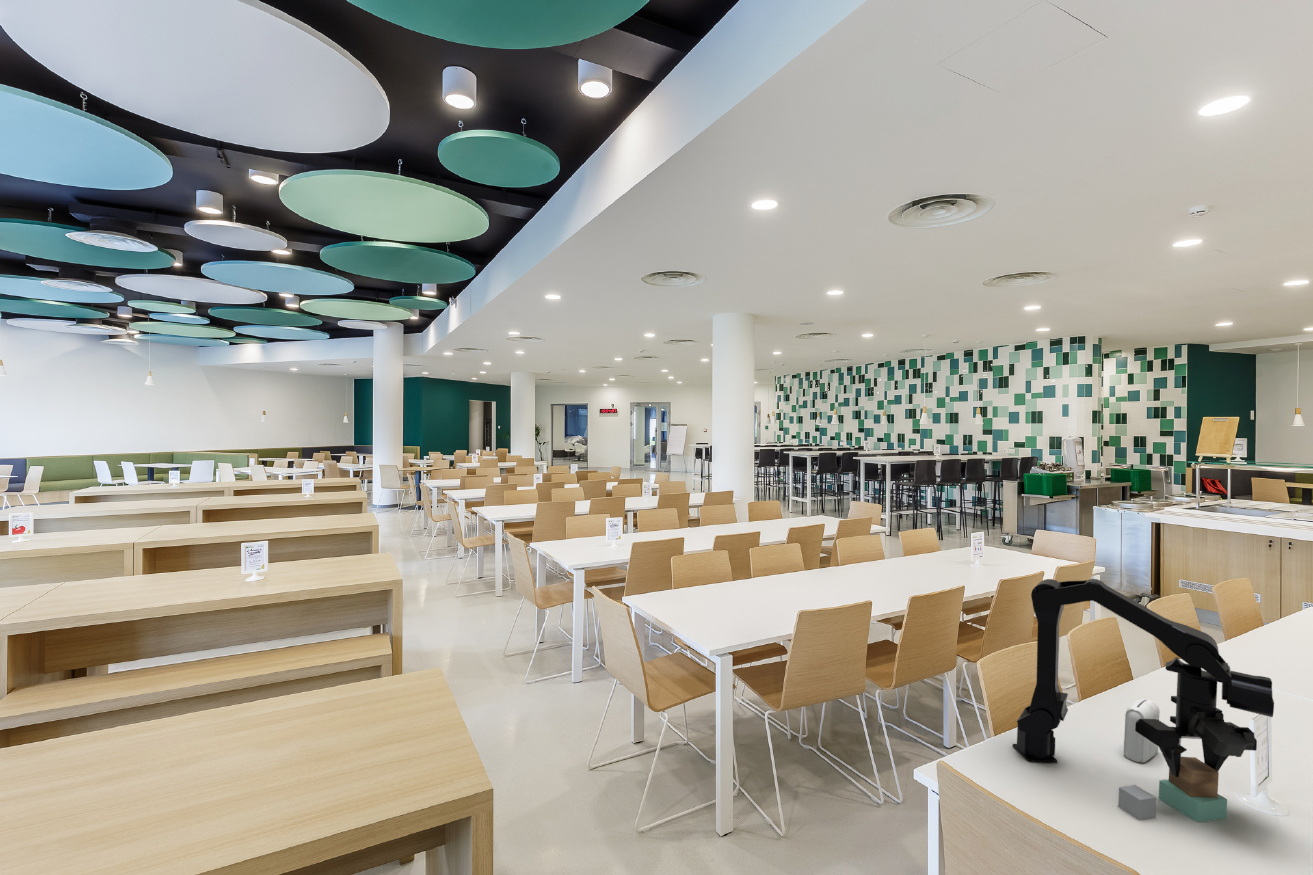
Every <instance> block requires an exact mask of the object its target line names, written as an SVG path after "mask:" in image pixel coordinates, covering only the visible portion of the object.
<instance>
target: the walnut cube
mask: <svg viewBox="0 0 1313 875" xmlns="http://www.w3.org/2000/svg"><path fill="white" fill-rule="evenodd" d="M1219 774H1220V773H1219V771H1218V772H1217V771H1216V770H1214V769H1213V768H1211V767H1210V766H1208V765H1206V764H1205V763H1204V761H1202V760H1200V759H1199V758H1197V757H1194V756H1193V757H1192V756H1181V761H1180V772H1179V777H1175V776H1174V775H1172V773H1171V771H1170V769H1169V768H1168V779H1169V781H1170V782H1171V783H1172V784H1174V785H1175V786H1176V787H1178V788H1179V789H1181V790H1182V791H1183V792H1185V793H1186V794H1188V795H1189V796H1190V797H1207V798H1217V796H1218V794H1219V790H1218V789H1219Z"/></svg>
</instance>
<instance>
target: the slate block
mask: <svg viewBox="0 0 1313 875" xmlns="http://www.w3.org/2000/svg"><path fill="white" fill-rule="evenodd" d="M1117 805H1118V806H1117V807H1118V808H1119V807H1120V809H1121V810H1122V809H1123V810H1122V811H1124V812H1125V813H1127V814H1129V815H1131V816H1132V817H1133V818H1135V819H1137V820H1138V821H1145V820H1149V819H1156V817H1157V796H1156V795H1153V794H1152V793H1150V792H1148V791H1147V790H1144V789H1143V788H1142V787H1139V785H1136V784H1130V785H1123V786H1119V787H1118V804H1117Z"/></svg>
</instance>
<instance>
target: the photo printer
mask: <svg viewBox="0 0 1313 875" xmlns="http://www.w3.org/2000/svg"><path fill="white" fill-rule="evenodd" d="M1160 712H1161V711H1160V708H1159V706H1158V704H1157V703H1156V702H1155V701H1154V700H1149V699H1147V698H1140V699H1137V700H1135V701H1133V702H1131V704H1129V706H1128V707H1127V708H1126V711H1125V714H1124V716H1125V717H1124V719H1125V720H1124V738H1123V755H1124V756H1125V757H1126V758H1127V759H1129V760H1130V761H1133V762H1136V763H1139V762H1140V764H1141V763H1146V762H1147V761H1149V760H1150V759H1152V758H1154V756H1156V755H1157V753H1158V751H1159V747H1158V745H1155V744H1154V743H1152V742H1151V741H1149V740H1148V739H1146V738H1145V737H1143V736H1142V735H1140V734H1139V733H1137V732H1136V731H1135V725H1136V721H1137V720H1138V719H1158V720H1159V721H1160V715H1161V714H1160Z"/></svg>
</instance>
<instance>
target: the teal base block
mask: <svg viewBox="0 0 1313 875" xmlns="http://www.w3.org/2000/svg"><path fill="white" fill-rule="evenodd" d="M1158 782H1159V783H1158V799H1159V800H1160V801H1162V802H1163V803H1164V804H1167V805H1168V806H1170V807H1171V808H1173V809H1175V810H1176V811H1178V812H1179V813H1181V814H1183V815H1184V816H1186V817H1188V818H1189V819H1191V820H1193V821H1194V822H1196V823H1200V822H1208V821H1216V820H1223V819H1227V814H1228V813H1227V812H1228V799H1227V798H1225V797H1224V796H1222V795H1220V794H1219V793H1218V796H1217V798H1207V797H1190V796H1189V795H1188V794H1186V793H1185V792H1183V791H1182V790H1181V789H1179V788H1178V787H1176V786H1175V785H1174V784H1172V783H1171V782H1170V781H1169V778H1168V779H1160V780H1159V781H1158Z"/></svg>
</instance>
